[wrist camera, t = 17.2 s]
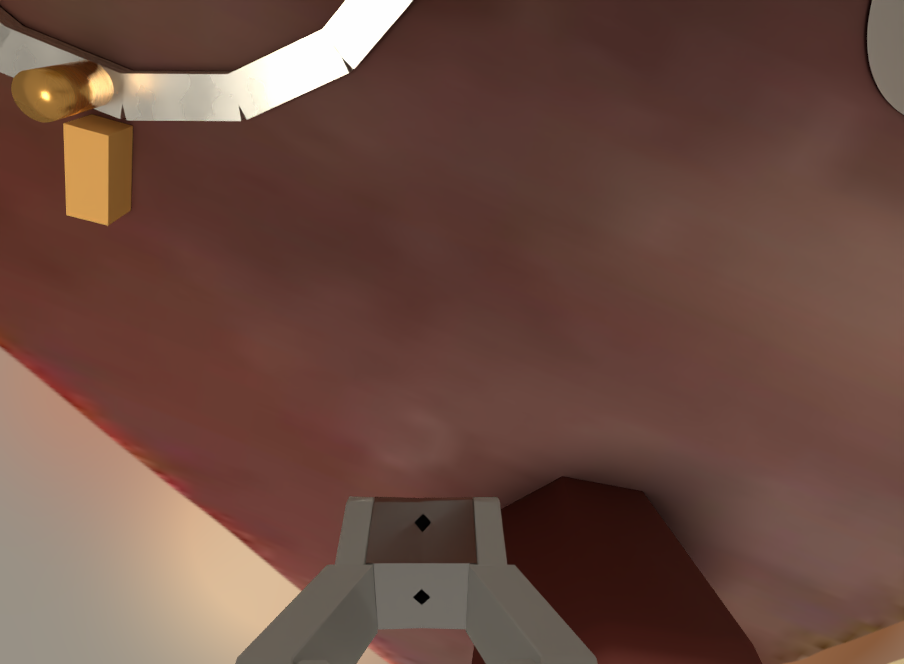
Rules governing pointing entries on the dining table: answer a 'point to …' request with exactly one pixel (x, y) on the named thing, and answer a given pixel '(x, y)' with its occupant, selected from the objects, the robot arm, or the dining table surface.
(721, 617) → the bucket
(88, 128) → the pointer block
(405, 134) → the dining table surface
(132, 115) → the ring
